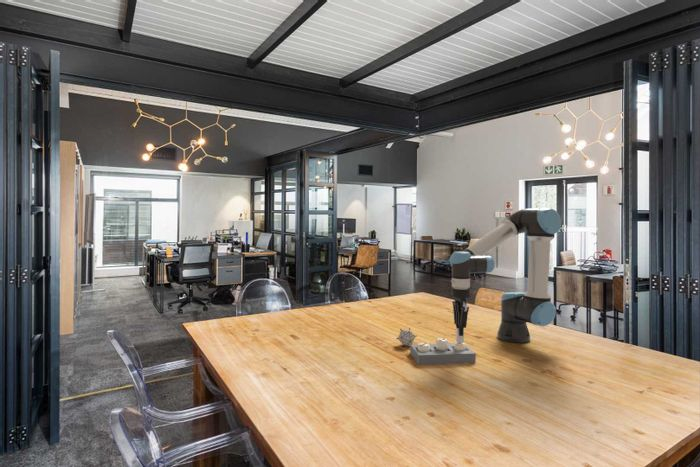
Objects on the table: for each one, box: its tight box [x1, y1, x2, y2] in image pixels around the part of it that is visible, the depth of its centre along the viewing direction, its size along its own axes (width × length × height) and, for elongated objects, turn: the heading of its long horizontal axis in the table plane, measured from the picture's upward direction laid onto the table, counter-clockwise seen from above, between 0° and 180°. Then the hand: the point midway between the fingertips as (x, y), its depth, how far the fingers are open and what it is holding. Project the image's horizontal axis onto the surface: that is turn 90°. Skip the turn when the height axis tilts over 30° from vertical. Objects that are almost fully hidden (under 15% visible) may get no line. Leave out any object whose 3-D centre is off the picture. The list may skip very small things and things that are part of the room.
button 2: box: [435, 337, 449, 351], centre depth 171 cm, size 5×5×5 cm
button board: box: [409, 342, 477, 366], centre depth 172 cm, size 24×14×4 cm, turn 96°
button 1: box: [453, 341, 467, 351], centre depth 172 cm, size 5×5×5 cm
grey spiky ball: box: [396, 327, 418, 348], centre depth 188 cm, size 9×8×10 cm
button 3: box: [417, 342, 430, 352], centre depth 171 cm, size 5×5×5 cm
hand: (459, 342), depth 172 cm, fingers closed
